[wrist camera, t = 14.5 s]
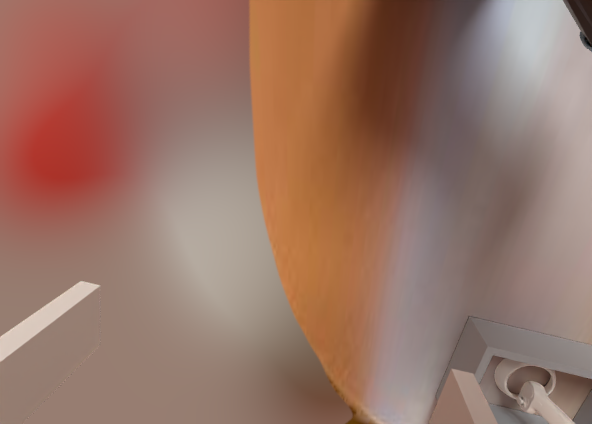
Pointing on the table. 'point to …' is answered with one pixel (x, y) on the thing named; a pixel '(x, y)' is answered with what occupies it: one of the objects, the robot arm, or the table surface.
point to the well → (524, 348)
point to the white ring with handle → (531, 393)
